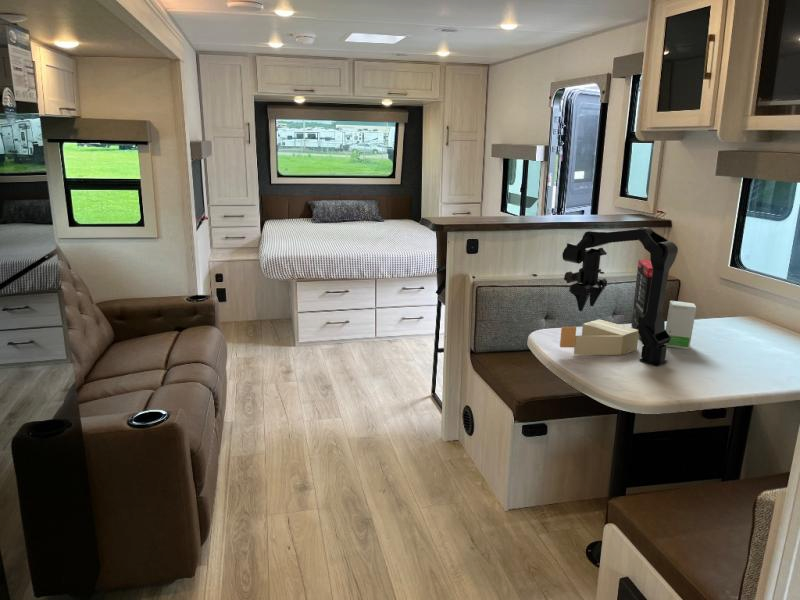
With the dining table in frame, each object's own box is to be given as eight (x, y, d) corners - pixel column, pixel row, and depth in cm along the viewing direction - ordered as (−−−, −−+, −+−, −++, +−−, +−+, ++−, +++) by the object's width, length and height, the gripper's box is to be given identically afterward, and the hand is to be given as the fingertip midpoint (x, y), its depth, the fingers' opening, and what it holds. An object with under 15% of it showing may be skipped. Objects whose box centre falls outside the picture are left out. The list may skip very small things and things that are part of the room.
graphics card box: (658, 342, 215) (669, 268, 208) (639, 340, 217) (648, 267, 209) (647, 328, 232) (656, 259, 225) (629, 326, 233) (637, 258, 226)
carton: (636, 349, 207) (639, 329, 205) (620, 354, 201) (623, 335, 199) (597, 337, 219) (599, 318, 218) (581, 342, 213) (582, 323, 212)
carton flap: (619, 353, 201) (622, 326, 199) (620, 354, 201) (624, 327, 198) (559, 353, 200) (561, 326, 198) (560, 354, 199) (562, 327, 197)
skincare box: (664, 346, 211) (670, 304, 207) (663, 341, 217) (668, 300, 213) (690, 349, 208) (697, 307, 204) (688, 343, 214) (694, 302, 210)
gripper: (580, 259, 220) (576, 299, 224) (557, 266, 206) (553, 309, 210) (609, 263, 213) (605, 305, 217) (587, 271, 199) (583, 315, 203)
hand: (586, 308), depth 212 cm, fingers open, 9 cm apart
